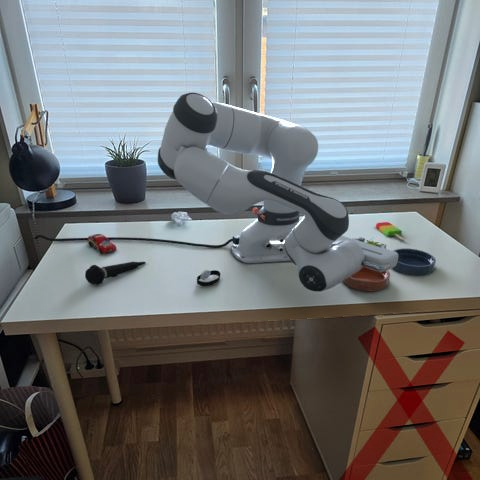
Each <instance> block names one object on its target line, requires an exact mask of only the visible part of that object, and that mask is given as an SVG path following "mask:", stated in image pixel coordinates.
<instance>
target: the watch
mask: <svg viewBox="0 0 480 480" xmlns="http://www.w3.org/2000/svg"><path fill="white" fill-rule="evenodd" d="M210 276H217V278H215V279H212V280H209V281H206V280H207V279H208V278H209V277H210ZM220 280H221V271H219V270H215V269H214V270H209V269H204V270H203V271H202V272H201V273H200V274H199V275H197V276H196V284H197V285H198V286H200V287H212V286H214V285H215V284H218V282H220Z"/></svg>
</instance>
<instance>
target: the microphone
mask: <svg viewBox="0 0 480 480" xmlns="http://www.w3.org/2000/svg"><path fill="white" fill-rule="evenodd" d="M143 265H146V261H129V262H124V263H123V262H122V263H118V264H112V265H105V266H102V267H100V266H99V265H97V264H92V265H90V267H88V268H87V269H86V270H85V272H84V273H85V274H84V278H85V281H87V282H88V284H91V285H96V286H99V285H101V284H103V281H105V280H106V279H109V278H117V277H118V276H119V275H121V274H124V273H128V272H131V271H135V270H136V269H137V268H139V267H141V266H143Z"/></svg>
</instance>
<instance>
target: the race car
mask: <svg viewBox="0 0 480 480" xmlns="http://www.w3.org/2000/svg"><path fill="white" fill-rule="evenodd" d="M107 237H108V236H105V234H102V233H95V234H91V235H88V236H87V238H88V240H87V243H88V245H89V247H90V248H92V249H94V250H95V251H97V252H98V253H99V254H100V255H101V256H102V255H108V254H112V253H115V252H116V251H117V246H116V244H114V243H113V241H112V240H111V239H110V240H109V239H108V238H107Z"/></svg>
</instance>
